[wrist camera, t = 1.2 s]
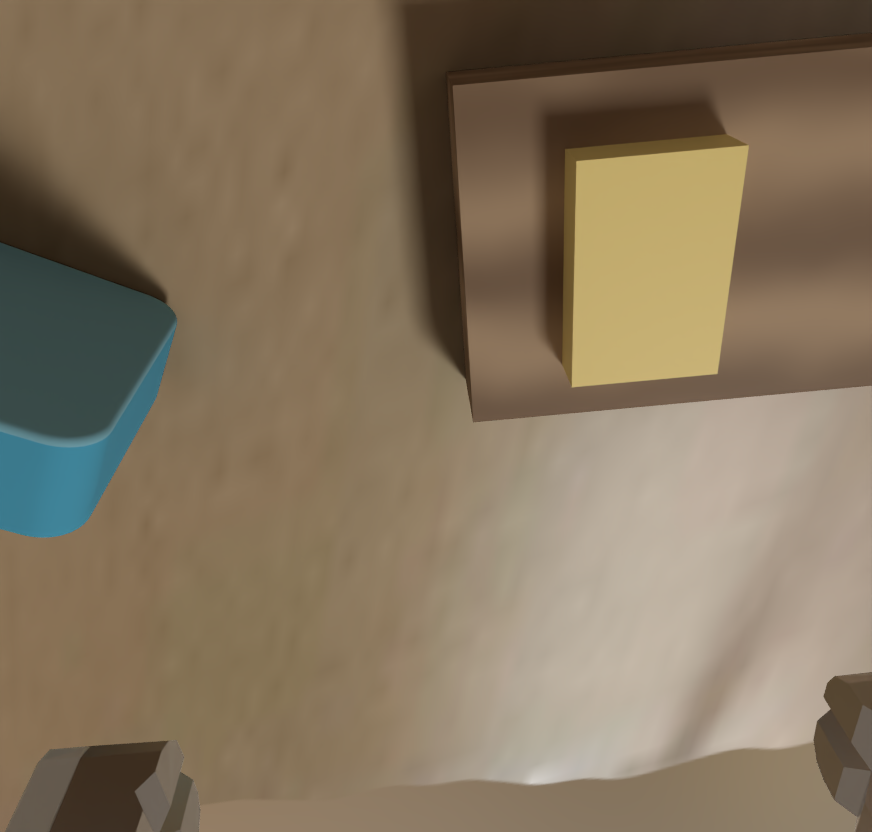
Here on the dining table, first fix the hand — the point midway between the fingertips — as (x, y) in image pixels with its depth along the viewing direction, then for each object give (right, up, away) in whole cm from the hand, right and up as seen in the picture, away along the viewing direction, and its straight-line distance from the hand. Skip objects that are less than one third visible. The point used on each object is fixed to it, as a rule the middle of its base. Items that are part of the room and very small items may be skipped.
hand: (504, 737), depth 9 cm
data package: (-19, +9, +24) cm, 32 cm away
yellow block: (+7, +10, +20) cm, 24 cm away
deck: (+11, +13, +24) cm, 29 cm away
